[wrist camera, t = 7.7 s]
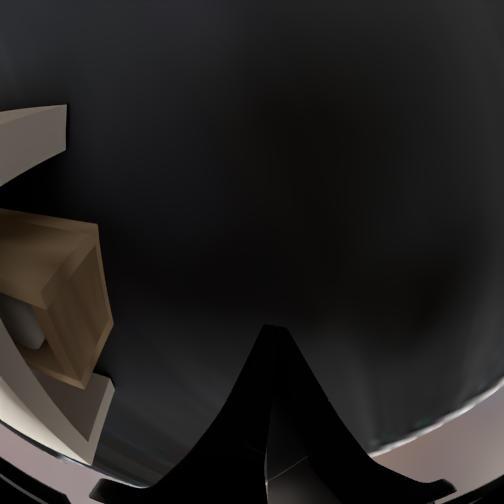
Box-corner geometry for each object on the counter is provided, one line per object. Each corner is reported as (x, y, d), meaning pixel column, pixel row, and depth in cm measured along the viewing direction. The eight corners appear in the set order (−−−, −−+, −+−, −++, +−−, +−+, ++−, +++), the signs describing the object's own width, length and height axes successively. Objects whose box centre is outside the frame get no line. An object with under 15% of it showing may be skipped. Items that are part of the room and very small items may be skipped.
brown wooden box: (98, 223, 10) (40, 291, 6) (114, 323, 13) (85, 389, 9) (-37, 202, 9) (-83, 240, 5) (-12, 281, 12) (-46, 323, 8)
